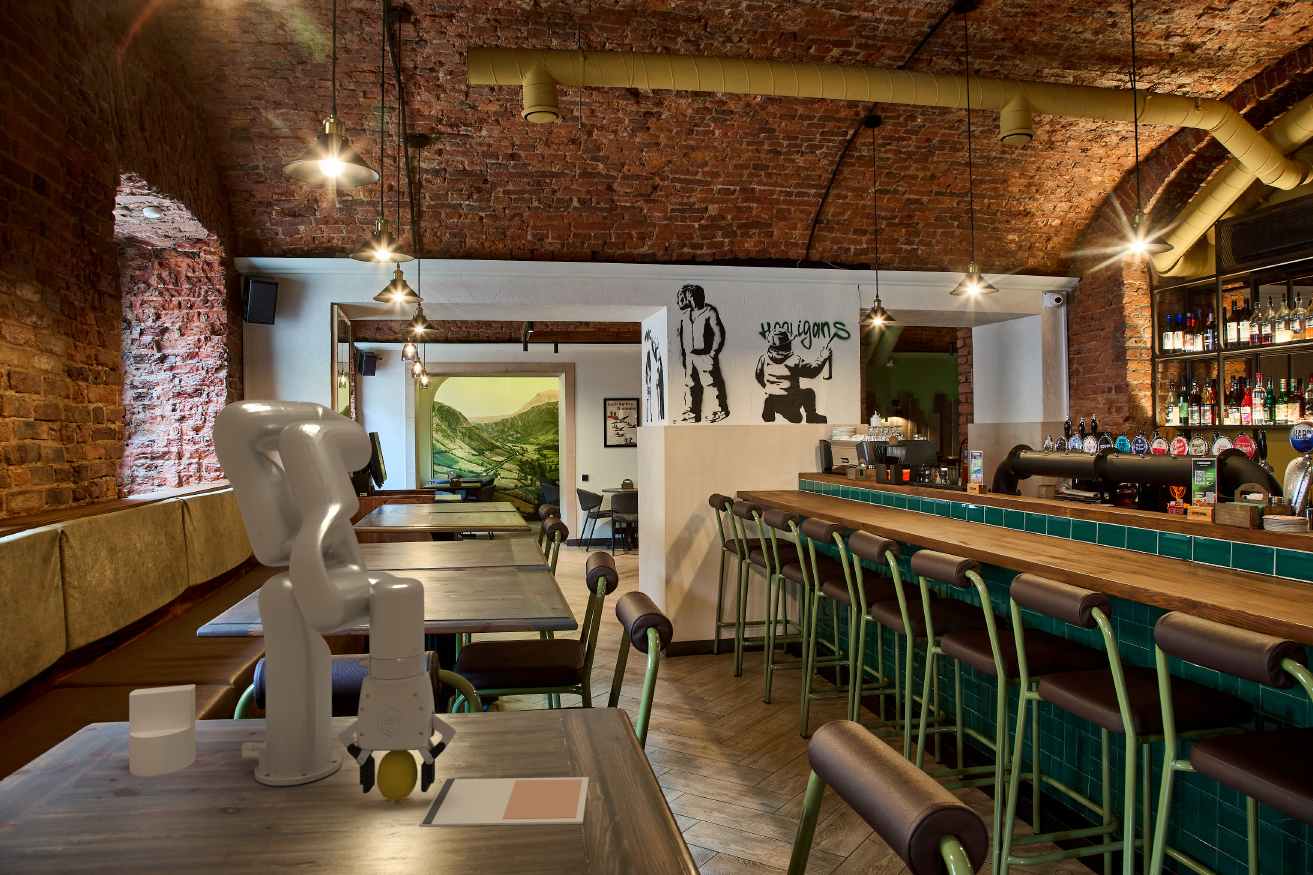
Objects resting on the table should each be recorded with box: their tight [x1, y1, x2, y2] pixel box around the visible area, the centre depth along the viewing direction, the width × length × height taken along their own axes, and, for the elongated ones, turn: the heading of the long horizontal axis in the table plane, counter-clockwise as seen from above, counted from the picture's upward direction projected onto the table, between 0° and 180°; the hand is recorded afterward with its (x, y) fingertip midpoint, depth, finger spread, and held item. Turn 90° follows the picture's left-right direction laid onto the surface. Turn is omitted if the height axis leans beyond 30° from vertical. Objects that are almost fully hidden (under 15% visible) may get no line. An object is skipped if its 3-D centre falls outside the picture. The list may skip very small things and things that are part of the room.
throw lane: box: [418, 776, 590, 827], centre depth 113 cm, size 22×14×1 cm, turn 92°
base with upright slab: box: [128, 684, 196, 777], centre depth 126 cm, size 9×9×12 cm
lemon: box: [376, 750, 419, 804], centre depth 112 cm, size 6×6×8 cm
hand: (397, 787), depth 112 cm, fingers open, 7 cm apart
